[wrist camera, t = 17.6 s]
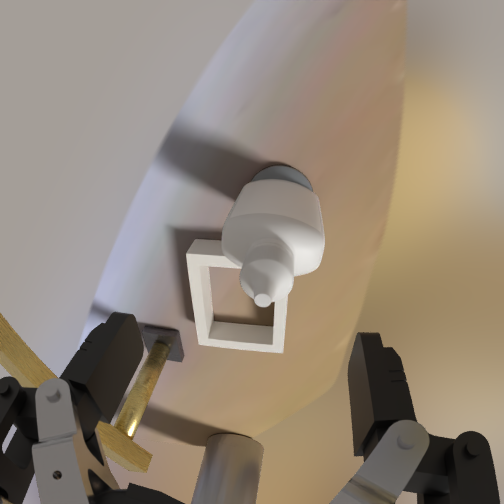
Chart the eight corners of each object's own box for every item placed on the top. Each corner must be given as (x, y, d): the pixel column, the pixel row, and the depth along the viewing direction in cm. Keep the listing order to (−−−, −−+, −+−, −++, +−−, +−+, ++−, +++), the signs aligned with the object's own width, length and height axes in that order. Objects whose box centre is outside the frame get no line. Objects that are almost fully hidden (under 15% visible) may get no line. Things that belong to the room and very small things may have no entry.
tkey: (65, 243, 28) (-26, 332, 16) (78, 233, 27) (-19, 325, 15) (170, 368, 34) (128, 470, 22) (186, 364, 33) (146, 472, 21)
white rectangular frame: (284, 334, 31) (282, 353, 28) (205, 327, 32) (198, 344, 29) (291, 244, 26) (290, 260, 24) (195, 238, 27) (186, 253, 24)
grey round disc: (311, 228, 25) (311, 232, 24) (247, 225, 25) (246, 228, 25) (315, 166, 22) (316, 168, 22) (247, 163, 23) (246, 165, 22)
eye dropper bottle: (266, 155, 22) (235, 222, 11) (327, 201, 23) (349, 302, 12) (232, 200, 24) (180, 296, 13) (291, 242, 25) (283, 358, 14)
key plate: (184, 355, 34) (181, 362, 33) (152, 350, 35) (149, 356, 34) (178, 330, 32) (175, 337, 32) (145, 325, 33) (141, 331, 32)
